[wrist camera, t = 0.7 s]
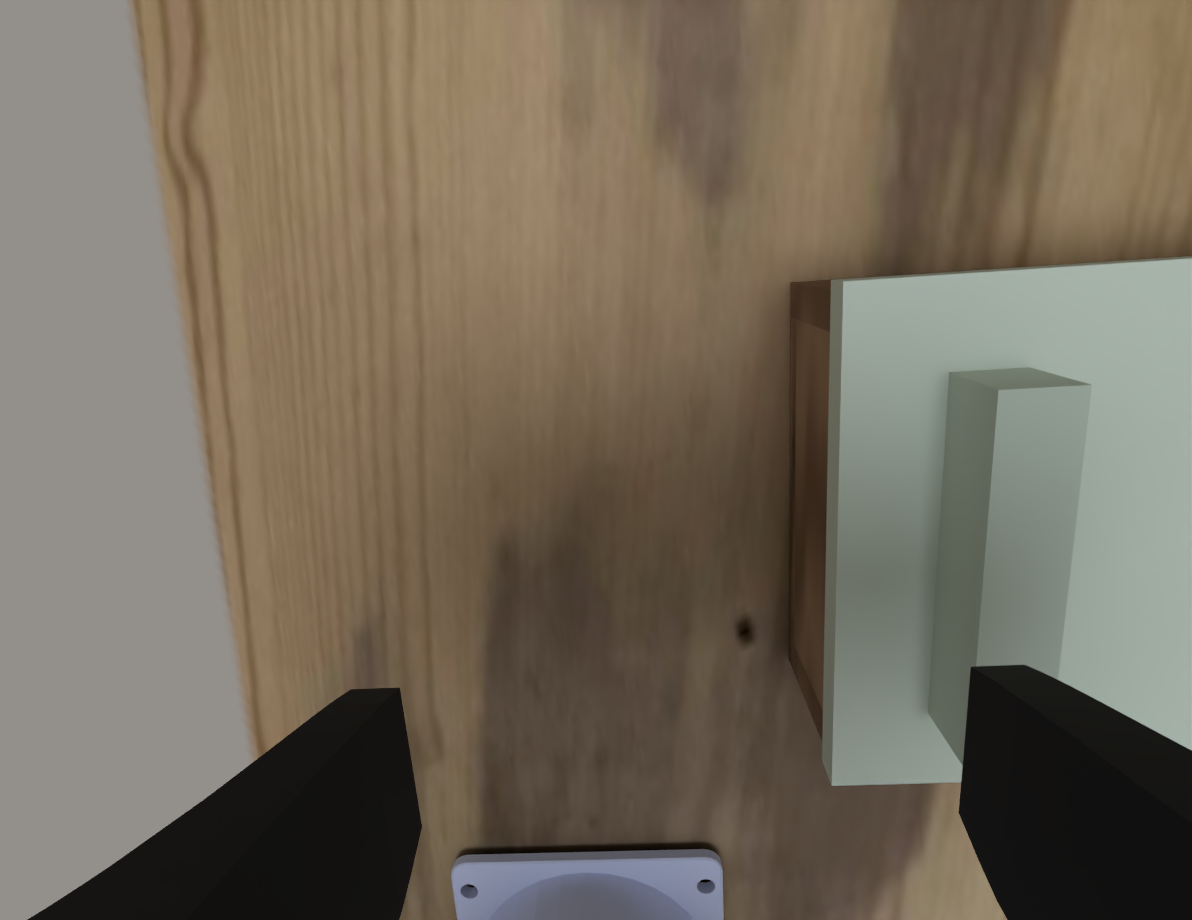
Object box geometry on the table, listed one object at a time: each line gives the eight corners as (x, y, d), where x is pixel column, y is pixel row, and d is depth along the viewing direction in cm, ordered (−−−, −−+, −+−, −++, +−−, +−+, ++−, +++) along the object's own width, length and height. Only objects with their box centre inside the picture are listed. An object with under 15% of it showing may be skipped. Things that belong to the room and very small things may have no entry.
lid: (1403, 743, 16) (1551, 836, 13) (822, 760, 16) (857, 852, 14) (1539, 232, 13) (1759, 227, 10) (831, 279, 14) (877, 285, 11)
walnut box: (1250, 641, 19) (1386, 726, 16) (789, 658, 20) (822, 744, 17) (1325, 247, 17) (1509, 245, 13) (790, 282, 17) (831, 289, 14)
